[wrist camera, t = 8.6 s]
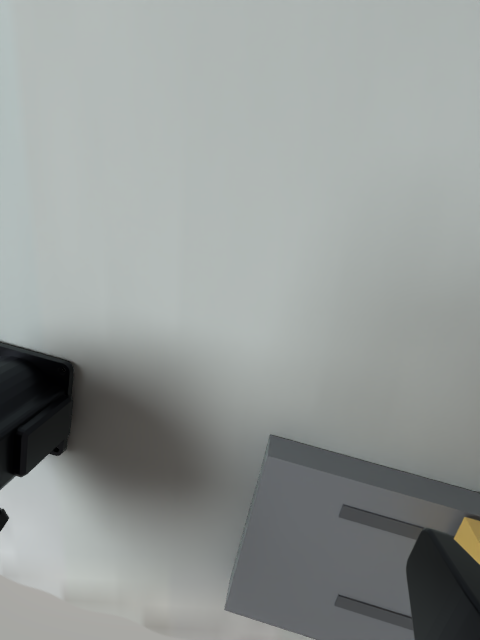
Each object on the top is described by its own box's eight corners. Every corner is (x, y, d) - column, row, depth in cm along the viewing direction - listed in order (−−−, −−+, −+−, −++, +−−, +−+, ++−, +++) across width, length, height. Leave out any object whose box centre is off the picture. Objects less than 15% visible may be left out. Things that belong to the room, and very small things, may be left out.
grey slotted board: (230, 579, 25) (224, 611, 23) (270, 434, 21) (267, 456, 19) (473, 656, 23) (490, 697, 21) (556, 514, 20) (585, 547, 18)
